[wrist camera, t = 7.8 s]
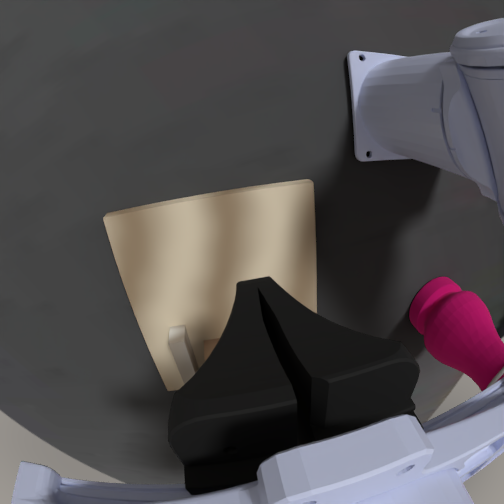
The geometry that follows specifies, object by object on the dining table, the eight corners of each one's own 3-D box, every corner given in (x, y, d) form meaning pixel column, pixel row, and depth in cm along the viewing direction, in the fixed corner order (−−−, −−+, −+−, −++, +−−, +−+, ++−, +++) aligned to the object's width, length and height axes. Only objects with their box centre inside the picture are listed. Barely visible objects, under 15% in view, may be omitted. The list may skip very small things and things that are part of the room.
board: (308, 178, 21) (324, 189, 18) (312, 358, 28) (322, 380, 26) (107, 213, 20) (93, 228, 17) (168, 383, 27) (167, 407, 24)
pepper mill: (406, 340, 30) (504, 481, 12) (401, 292, 27) (533, 455, 9) (455, 309, 30) (560, 427, 12) (456, 259, 26) (593, 385, 8)
